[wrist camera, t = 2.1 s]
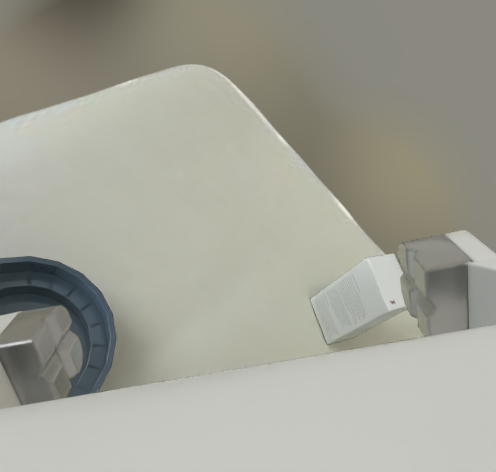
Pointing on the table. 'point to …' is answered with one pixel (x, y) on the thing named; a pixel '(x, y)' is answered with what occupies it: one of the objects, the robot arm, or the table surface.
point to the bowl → (77, 304)
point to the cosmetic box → (360, 298)
